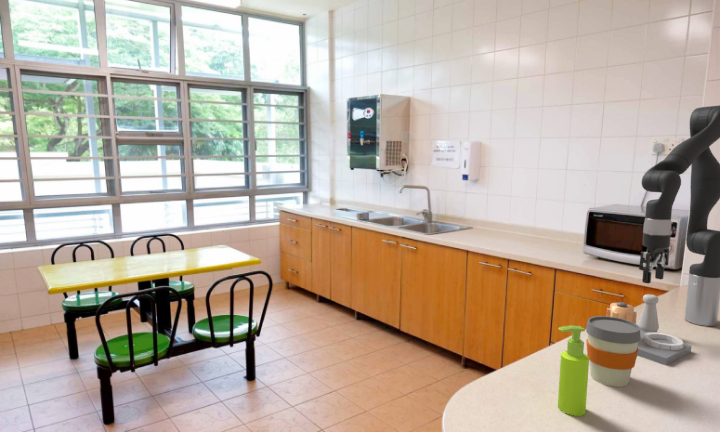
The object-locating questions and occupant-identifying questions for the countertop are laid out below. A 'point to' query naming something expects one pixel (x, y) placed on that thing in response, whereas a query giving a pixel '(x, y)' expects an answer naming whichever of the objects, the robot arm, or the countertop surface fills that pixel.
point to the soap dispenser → (573, 374)
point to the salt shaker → (649, 314)
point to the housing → (651, 338)
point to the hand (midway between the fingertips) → (652, 280)
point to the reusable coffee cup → (612, 349)
